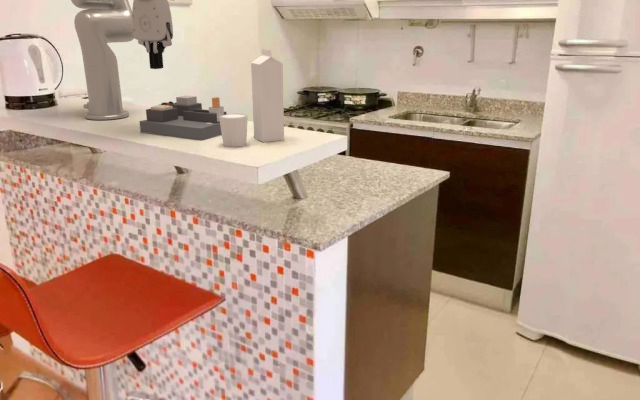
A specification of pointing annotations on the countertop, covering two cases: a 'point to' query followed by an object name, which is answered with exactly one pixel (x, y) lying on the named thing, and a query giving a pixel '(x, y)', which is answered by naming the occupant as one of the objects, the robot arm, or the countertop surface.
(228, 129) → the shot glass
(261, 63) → the milk
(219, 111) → the toggle slider
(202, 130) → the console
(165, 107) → the cream button
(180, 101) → the grey button
